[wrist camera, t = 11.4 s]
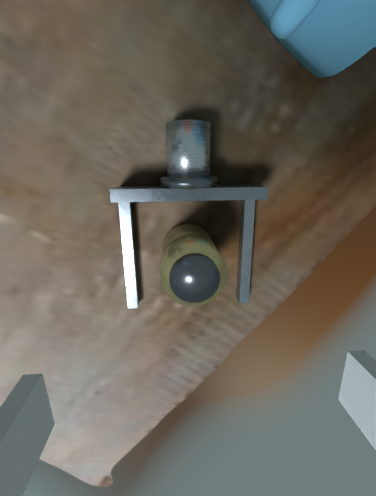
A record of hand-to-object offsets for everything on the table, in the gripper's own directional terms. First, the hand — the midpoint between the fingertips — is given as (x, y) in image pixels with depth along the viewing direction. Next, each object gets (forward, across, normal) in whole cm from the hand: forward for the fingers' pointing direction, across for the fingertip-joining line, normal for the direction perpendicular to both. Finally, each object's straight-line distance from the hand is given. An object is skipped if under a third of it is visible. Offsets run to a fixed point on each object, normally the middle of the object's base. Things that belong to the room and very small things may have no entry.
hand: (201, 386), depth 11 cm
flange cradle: (+21, +1, +3) cm, 21 cm away
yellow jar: (+21, +1, 0) cm, 21 cm away
